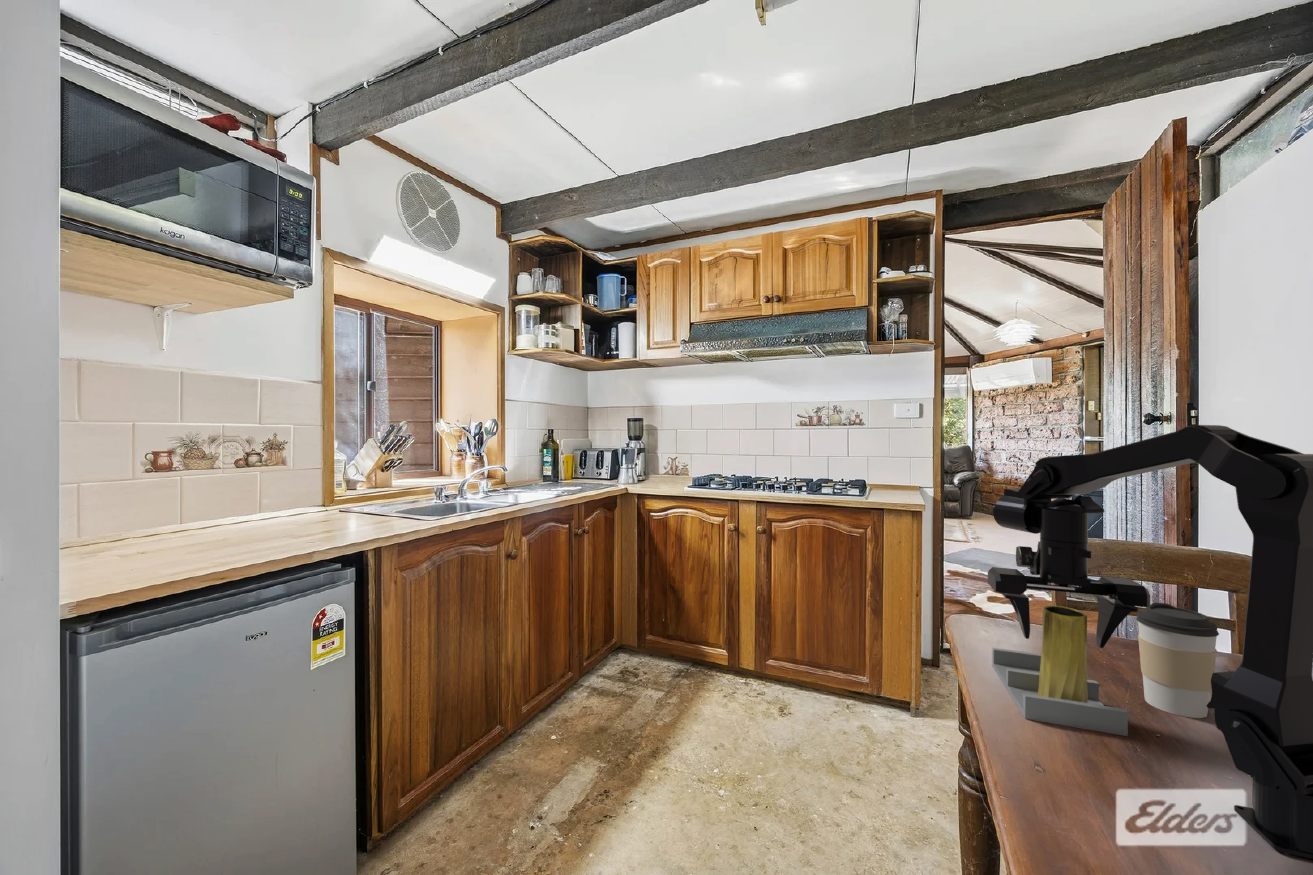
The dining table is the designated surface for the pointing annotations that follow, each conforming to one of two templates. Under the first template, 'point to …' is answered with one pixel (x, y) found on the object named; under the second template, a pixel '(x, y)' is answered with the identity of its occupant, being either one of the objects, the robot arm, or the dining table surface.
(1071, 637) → the vase
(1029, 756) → the dining table surface
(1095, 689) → the tiered shelf
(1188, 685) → the coffee cup
